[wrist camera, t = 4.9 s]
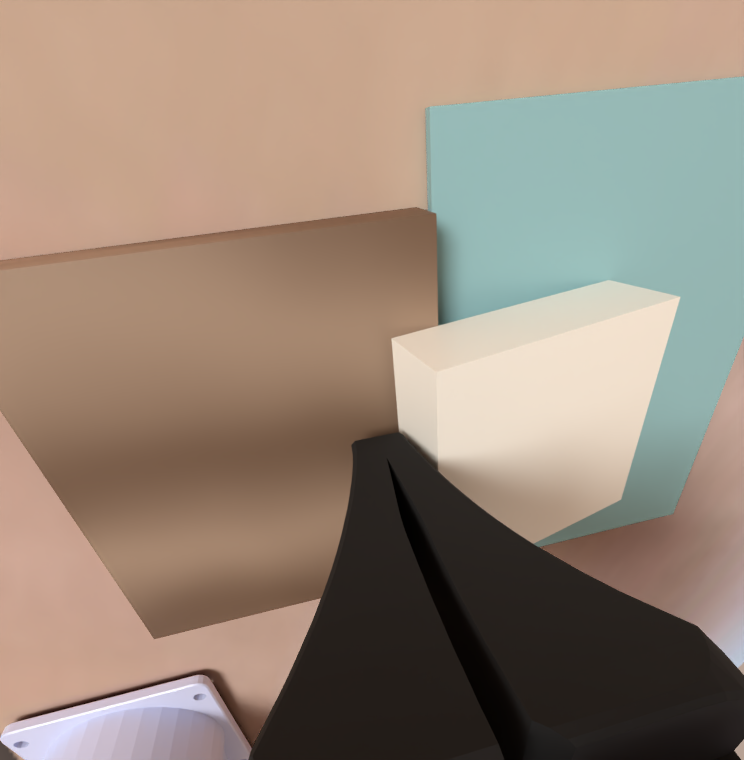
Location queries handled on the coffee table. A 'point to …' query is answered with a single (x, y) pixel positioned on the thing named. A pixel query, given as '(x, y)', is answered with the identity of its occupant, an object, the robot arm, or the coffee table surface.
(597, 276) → the mat
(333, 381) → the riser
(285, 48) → the coffee table surface
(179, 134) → the coffee table surface
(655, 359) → the cream flat block
